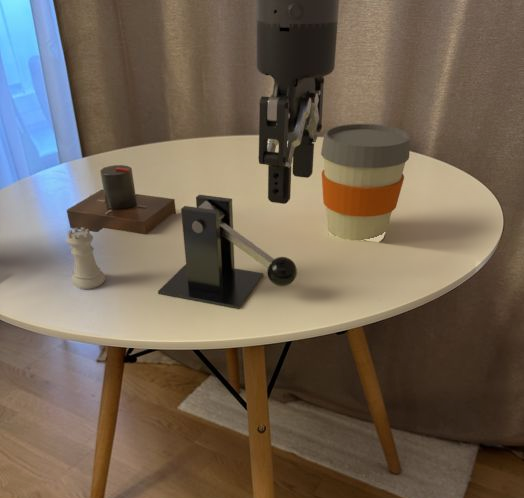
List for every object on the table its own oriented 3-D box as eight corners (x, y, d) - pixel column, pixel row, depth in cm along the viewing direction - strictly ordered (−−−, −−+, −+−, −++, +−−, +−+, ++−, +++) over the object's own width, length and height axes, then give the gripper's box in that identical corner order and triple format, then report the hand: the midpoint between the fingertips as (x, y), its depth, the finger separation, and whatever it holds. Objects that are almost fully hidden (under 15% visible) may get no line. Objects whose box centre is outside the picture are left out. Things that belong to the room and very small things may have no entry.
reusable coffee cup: (409, 228, 87) (425, 130, 79) (377, 258, 79) (391, 152, 70) (338, 212, 93) (346, 119, 84) (301, 238, 85) (306, 138, 76)
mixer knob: (100, 207, 87) (93, 170, 84) (116, 197, 91) (110, 161, 87) (126, 211, 86) (120, 174, 82) (142, 200, 90) (137, 164, 86)
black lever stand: (263, 281, 74) (263, 196, 67) (238, 315, 67) (235, 224, 60) (189, 269, 77) (182, 185, 70) (158, 300, 70) (146, 211, 63)
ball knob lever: (291, 283, 69) (306, 263, 67) (282, 297, 66) (297, 277, 64) (198, 216, 68) (210, 194, 66) (185, 227, 65) (197, 204, 63)
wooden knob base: (70, 227, 88) (65, 208, 86) (104, 205, 96) (101, 188, 94) (146, 239, 84) (144, 220, 83) (176, 216, 92) (174, 197, 90)
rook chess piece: (65, 292, 71) (51, 235, 67) (87, 277, 75) (75, 222, 70) (93, 299, 70) (80, 241, 65) (114, 284, 73) (104, 227, 68)
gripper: (282, 8, 57) (279, 165, 66) (230, 21, 46) (235, 206, 56) (353, 11, 55) (339, 172, 64) (316, 25, 44) (306, 216, 54)
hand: (291, 188), depth 60 cm, fingers open, 8 cm apart
